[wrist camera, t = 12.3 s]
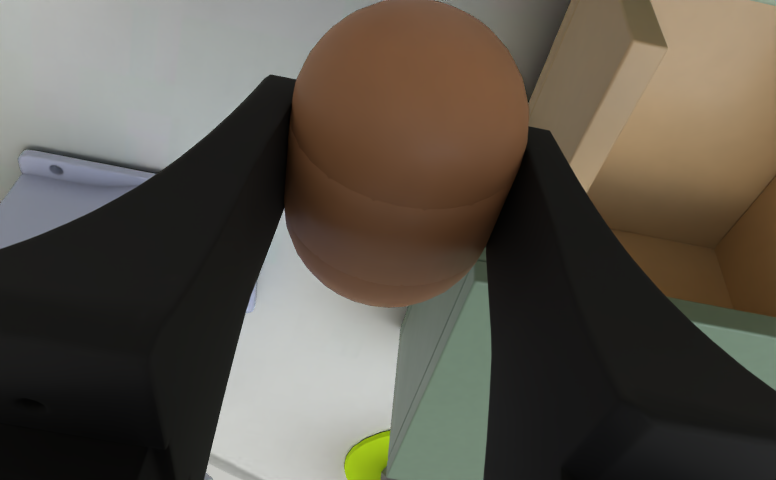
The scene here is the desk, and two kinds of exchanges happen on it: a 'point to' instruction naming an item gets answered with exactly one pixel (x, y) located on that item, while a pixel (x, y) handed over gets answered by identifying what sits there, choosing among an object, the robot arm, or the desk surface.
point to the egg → (402, 150)
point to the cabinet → (473, 369)
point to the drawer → (674, 137)
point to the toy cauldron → (369, 459)
